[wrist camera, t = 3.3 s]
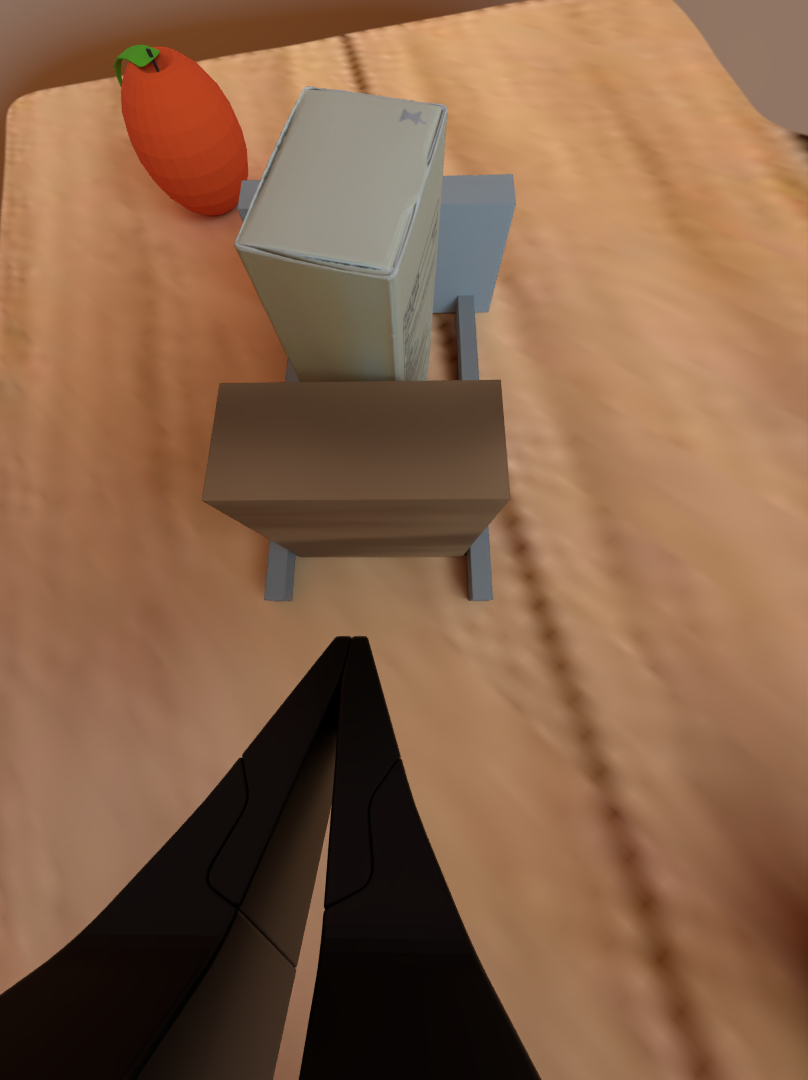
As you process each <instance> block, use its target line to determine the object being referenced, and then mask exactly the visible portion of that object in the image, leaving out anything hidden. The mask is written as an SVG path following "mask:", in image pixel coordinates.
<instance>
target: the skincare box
mask: <svg viewBox="0 0 808 1080" xmlns="http://www.w3.org/2000/svg"><path fill="white" fill-rule="evenodd" d="M446 123H447V107H446V106H445V105H442V104H437V103H423V102H416V101H412V100H405V99H396V98H390V97H383V96H375V95H369V94H362V93H354V92H348V91H343V90H334V89H325V88H323V89H321V88H315V87H309V86H308V87H305V88H304V89H303V91H302V93H301V95H300V97H299V99H298V101H297V102H296V104H295V107H294V108H293V111H292V113H291V114H290V116H289V118H288V121H287V122H286V124H285V126H284V129H283V131H282V132H281V135H280V138H279V140H278V142H277V144H276V146H275V149H274V151H273V153H272V155H271V157H270V159H269V162H268V164H267V167H266V169H265V171H264V173H263V176H262V178H261V180H260V182H259V185H258V187H257V190H256V192H255V194H254V197H253V199H252V201H251V204H250V206H249V209H248V212H247V214H246V216H245V219H244V222H243V224H242V227H241V229H240V232H239V234H238V236H237V238H236V241H235V248H236V250H237V252H238V254H239V256H240V258H241V260H242V262H243V265H244V267H245V269H246V271H247V273H248V274H249V276H250V279H251V281H252V283H253V285H254V287H255V290H256V292H257V294H258V296H259V298H260V300H261V302H262V304H263V306H264V308H265V310H266V312H267V315H268V317H269V319H270V321H271V323H272V325H273V327H274V329H275V331H276V333H277V335H278V338H279V340H280V342H281V344H282V346H283V348H284V350H285V352H286V354H287V356H288V358H289V360H290V362H291V364H292V366H293V369H294V371H295V373H296V375H297V377H298V379H299V381H300V382H364V381H428V368H429V353H430V339H431V326H432V312H433V299H434V285H435V272H436V260H437V246H438V233H439V220H440V207H441V193H442V179H443V165H444V151H445V136H446Z"/></svg>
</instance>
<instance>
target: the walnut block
mask: <svg viewBox="0 0 808 1080" xmlns="http://www.w3.org/2000/svg"><path fill="white" fill-rule="evenodd" d="M509 500H510V488H509V476H508V463H507V451H506V439H505V426H504V414H503V402H502V389H501V380H443V381H364V382H284V383H220V385H219V391H218V398H217V404H216V411H215V418H214V424H213V431H212V437H211V444H210V451H209V457H208V464H207V470H206V477H205V484H204V490H203V497H202V501H203V502H205V503H207V504H209V505H210V506H212V507H214V508H216V509H217V510H219V511H221V512H223V513H224V514H226V515H228V516H230V517H231V518H233V519H235V520H237V521H238V522H240V523H242V524H243V525H245V526H247V527H249V528H250V529H252V530H254V531H256V532H257V533H259V534H261V535H263V536H264V537H266V538H268V539H270V540H271V541H273V542H275V543H277V544H278V545H280V546H282V547H284V548H285V549H287V550H289V551H291V552H292V553H294V554H296V555H298V556H299V557H462V556H463V555H464V554H465V553H466V551H467V550H468V549H469V548H470V547H471V545H472V544H473V543H474V542H475V541H476V539H477V538H478V537H479V536H480V535H481V533H482V532H483V531H484V530H485V529H486V527H487V526H488V525H489V524H490V523H491V521H492V520H493V519H494V518H495V516H496V515H497V514H498V513H499V512H500V510H501V509H502V508H503V507H504V506H505V504H506V503H507V502H508V501H509Z"/></svg>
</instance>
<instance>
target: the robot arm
mask: <svg viewBox="0 0 808 1080" xmlns="http://www.w3.org/2000/svg"><path fill="white" fill-rule="evenodd" d="M331 805H332V808H331ZM330 809H331V821H330V834H329V847H328V860H327V873H326V886H325V899H324V908H325V911H324V914H323V925H322V936H321V945H320V953H319V962H318V969H317V976H316V982H315V988H314V994H313V999H312V1005H311V1011H310V1017H309V1023H308V1029H307V1035H306V1041H305V1046H304V1052H303V1058H302V1064H301V1070H300V1076H299V1080H541V1078H540V1076H539V1074H538V1072H537V1070H536V1068H535V1066H534V1065H533V1063H532V1061H531V1059H530V1057H529V1055H528V1053H527V1051H526V1049H525V1047H524V1045H523V1043H522V1042H521V1040H520V1038H519V1036H518V1034H517V1032H516V1030H515V1028H514V1026H513V1024H512V1022H511V1020H510V1019H509V1017H508V1015H507V1013H506V1011H505V1009H504V1007H503V1005H502V1003H501V1001H500V999H499V997H498V995H497V994H496V992H495V990H494V988H493V986H492V984H491V982H490V980H489V978H488V976H487V974H486V972H485V970H484V968H483V966H482V964H481V962H480V960H479V958H478V956H477V954H476V951H475V949H474V947H473V945H472V943H471V940H470V938H469V936H468V934H467V931H466V929H465V927H464V924H463V922H462V920H461V917H460V915H459V913H458V910H457V908H456V905H455V903H454V900H453V898H452V895H451V893H450V891H449V888H448V886H447V883H446V881H445V878H444V876H443V874H442V871H441V869H440V866H439V864H438V861H437V859H436V856H435V854H434V852H433V849H432V847H431V844H430V842H429V839H428V837H427V834H426V832H425V829H424V827H423V824H422V821H421V819H420V816H419V813H418V811H417V808H416V805H415V802H414V799H413V796H412V793H411V790H410V786H409V783H408V780H407V777H406V773H405V769H404V766H403V762H402V760H401V756H400V752H399V748H398V745H397V741H396V738H395V734H394V730H393V727H392V723H391V720H390V716H389V712H388V709H387V705H386V701H385V698H384V694H383V691H382V687H381V683H380V680H379V676H378V673H377V669H376V665H375V662H374V658H373V655H372V651H371V647H370V644H369V640H368V638H367V637H366V636H354V637H353V638H351V637H350V636H337V637H336V638H335V639H334V640H333V641H332V642H331V644H330V645H329V646H328V647H327V649H326V650H325V651H324V652H323V654H322V655H321V656H320V657H319V659H318V660H317V661H316V662H315V664H314V665H313V666H312V667H311V669H310V670H309V671H308V672H307V674H306V675H305V676H304V678H303V679H302V680H301V681H300V683H299V684H298V685H297V686H296V688H295V689H294V690H293V691H292V693H291V694H290V695H289V696H288V698H287V699H286V700H285V701H284V703H283V704H282V705H281V706H280V708H279V709H278V710H277V711H276V713H275V714H274V715H273V716H272V718H271V719H270V720H269V722H268V723H267V724H266V725H265V727H264V728H263V729H262V730H261V732H260V733H259V734H258V735H257V737H256V738H255V739H254V740H253V742H252V743H251V744H250V745H249V747H248V748H247V749H246V750H245V752H244V753H243V754H242V758H239V759H238V760H237V761H236V763H235V764H234V765H233V767H232V768H231V769H230V770H229V772H228V773H227V774H226V775H225V777H224V778H223V779H222V780H221V781H220V783H219V784H218V785H217V786H216V787H215V789H214V790H213V791H212V792H211V793H210V795H209V796H208V797H207V798H206V799H205V801H204V802H203V803H202V804H201V805H200V806H199V807H198V808H197V809H196V811H195V812H194V813H193V814H192V815H191V816H190V817H189V818H188V819H187V821H186V822H185V823H184V824H183V825H182V826H181V827H180V828H179V829H178V831H177V832H176V833H175V834H174V835H173V836H172V837H171V838H170V839H169V840H168V841H167V842H166V843H165V845H164V846H163V847H162V848H161V849H160V850H159V851H158V852H157V853H156V854H155V855H154V856H153V857H152V859H151V860H150V861H149V862H148V863H147V864H146V865H145V866H144V867H143V868H142V869H141V870H140V871H139V872H138V874H137V875H136V876H135V877H134V878H133V879H132V880H131V881H130V882H129V883H128V884H127V885H126V886H125V888H124V889H123V890H122V891H121V892H120V893H119V894H118V895H117V896H116V897H115V898H114V899H113V900H112V901H111V903H110V904H109V905H108V906H107V907H106V908H105V909H104V910H103V911H102V912H101V913H100V914H99V915H98V916H97V917H96V918H95V919H94V920H93V921H92V922H91V923H90V924H89V925H88V926H87V927H86V928H85V929H84V930H83V931H82V932H81V933H80V934H78V935H77V936H76V937H75V938H74V939H73V940H72V941H70V942H69V943H68V944H67V945H66V946H65V947H64V948H62V949H61V950H60V951H59V952H57V953H56V954H55V955H54V956H53V957H51V958H50V959H49V960H48V961H46V962H45V963H44V964H42V965H41V966H40V967H38V968H37V969H36V970H34V971H33V972H31V973H30V974H29V975H27V976H26V977H24V978H23V979H22V980H20V981H19V982H17V983H16V984H15V985H13V986H12V987H11V988H9V989H8V990H6V991H5V992H4V993H2V994H1V995H0V1080H273V1076H274V1071H275V1067H276V1062H277V1057H278V1053H279V1048H280V1043H281V1039H282V1034H283V1029H284V1025H285V1020H286V1015H287V1011H288V1006H289V1001H290V997H291V992H292V987H293V983H294V978H295V973H296V968H295V967H296V966H297V964H298V959H299V954H300V949H301V945H302V940H303V935H304V931H305V926H306V921H307V917H308V912H309V907H310V903H311V898H312V893H313V889H314V884H315V879H316V875H317V870H318V865H319V861H320V856H321V851H322V847H323V842H324V837H325V833H326V828H327V823H328V819H329V814H330Z"/></svg>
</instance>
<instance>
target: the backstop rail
mask: <svg viewBox="0 0 808 1080" xmlns="http://www.w3.org/2000/svg"><path fill="white" fill-rule="evenodd" d="M259 182H260V180H242V184H241V190H240V196H239V202H238V211H239V214H240V216H241V218H242V221H243V222H244V219H245V216H246V214H247V212H248V209H249V206H250V204H251V201H252V199H253V197H254V194H255V192H256V190H257V187H258V185H259ZM515 205H516V198H515V189H514V180H513V174H507V175H463V176H443V179H442V193H441V207H440V220H439V233H438V246H437V260H436V272H435V285H434V299H433V312H432V313H456V333H457V355H458V376H459V380H479V371H478V355H477V339H476V323H475V312H488V311H489V307H490V303H491V299H492V295H493V291H494V287H495V283H496V279H497V276H498V272H499V268H500V264H501V260H502V256H503V252H504V248H505V244H506V240H507V236H508V232H509V228H510V225H511V221H512V217H513V213H514V209H515ZM285 382H300V381H299V379H298V377H297V375H296V373H295V371H294V369H293V366H292V364H291V362H290V360H289V358H288V361H287V371H286V381H285ZM295 555H296V554H294V553H292V552H291V551H289V550H287V549H285V548H284V547H282V546H280V545H278V544H277V543H275V542H273V541H271V540H270V545H269V556H268V566H267V576H266V587H265V597H264V600H269V601H292V593H293V581H294V568H295ZM467 571H468V593H469V601H489V600H493V593H492V577H491V561H490V545H489V529H488V526H487V527H486V529H485V530H484V531H483V532H482V533H481V535H480V536H479V537H478V538H477V539H476V541H475V542H474V543H473V544H472V545H471V547H470V548H469V549H468V550H467Z"/></svg>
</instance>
